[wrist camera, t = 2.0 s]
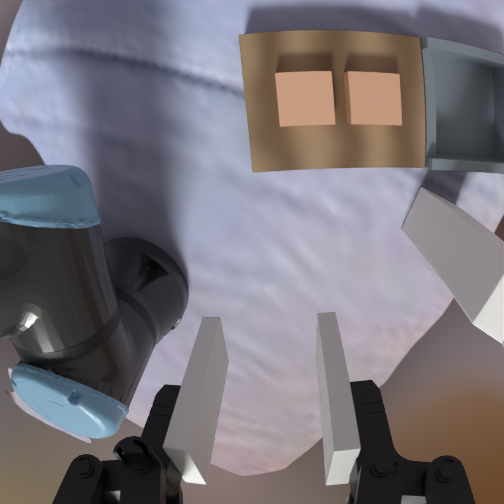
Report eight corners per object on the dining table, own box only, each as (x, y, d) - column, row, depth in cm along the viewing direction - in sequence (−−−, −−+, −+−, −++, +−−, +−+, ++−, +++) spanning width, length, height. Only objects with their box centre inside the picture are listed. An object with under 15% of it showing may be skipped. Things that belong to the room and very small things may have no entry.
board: (255, 164, 35) (252, 172, 31) (242, 42, 29) (238, 34, 25) (410, 160, 33) (424, 167, 29) (405, 42, 27) (419, 37, 23)
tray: (413, 160, 33) (431, 170, 28) (408, 43, 27) (426, 36, 22) (496, 165, 31) (518, 175, 27) (495, 60, 25) (518, 59, 21)
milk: (400, 228, 37) (487, 351, 17) (420, 185, 34) (535, 280, 14) (436, 244, 37) (525, 361, 17) (456, 204, 34) (567, 300, 15)
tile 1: (346, 122, 28) (351, 124, 27) (343, 73, 26) (347, 71, 24) (394, 123, 28) (401, 125, 26) (392, 75, 26) (399, 73, 24)
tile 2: (279, 125, 29) (279, 126, 27) (275, 74, 27) (274, 72, 25) (331, 123, 28) (335, 124, 27) (328, 72, 26) (331, 71, 25)
